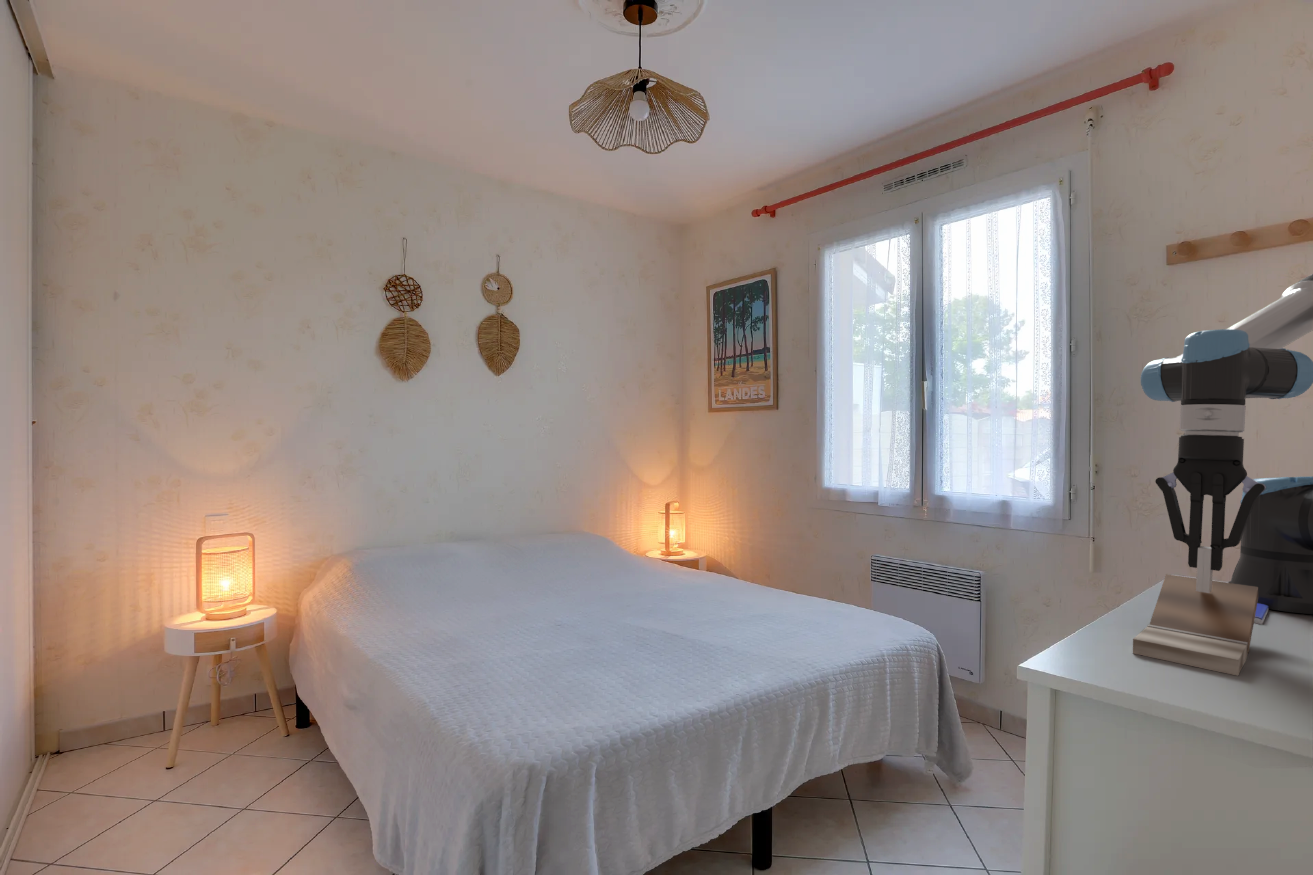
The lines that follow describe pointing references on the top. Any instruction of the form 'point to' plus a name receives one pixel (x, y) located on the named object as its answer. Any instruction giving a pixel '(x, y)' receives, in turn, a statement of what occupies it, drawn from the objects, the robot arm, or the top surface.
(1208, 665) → the grey oak plank
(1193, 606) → the walnut plank
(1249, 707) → the top surface
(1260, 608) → the hard drive
